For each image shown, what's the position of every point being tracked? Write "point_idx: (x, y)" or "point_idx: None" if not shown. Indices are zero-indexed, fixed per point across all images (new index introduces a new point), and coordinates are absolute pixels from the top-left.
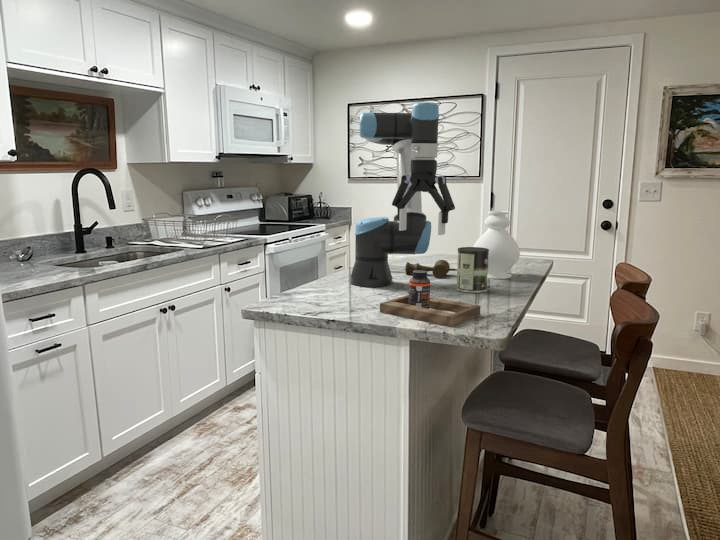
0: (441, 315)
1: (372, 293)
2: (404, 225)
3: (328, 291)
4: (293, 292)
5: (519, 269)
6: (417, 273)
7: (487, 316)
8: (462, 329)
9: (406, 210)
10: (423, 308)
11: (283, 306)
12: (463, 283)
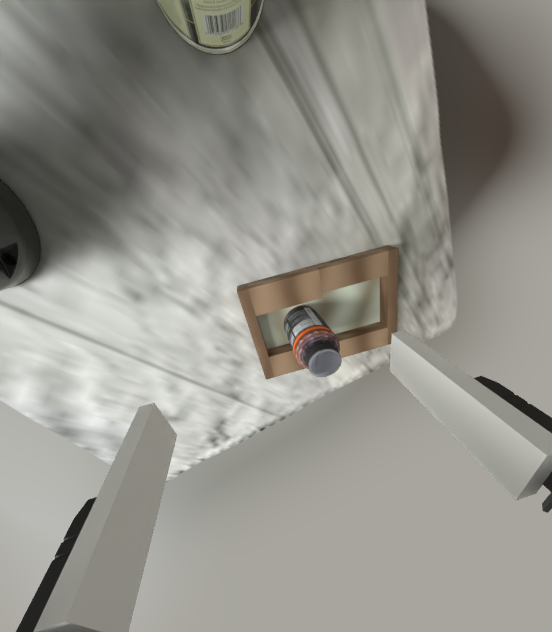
0: (378, 346)
1: (120, 305)
2: (155, 441)
3: (61, 369)
4: (49, 420)
5: None
6: (329, 373)
7: (403, 245)
8: None
9: (85, 583)
10: None
11: None
12: (216, 30)
